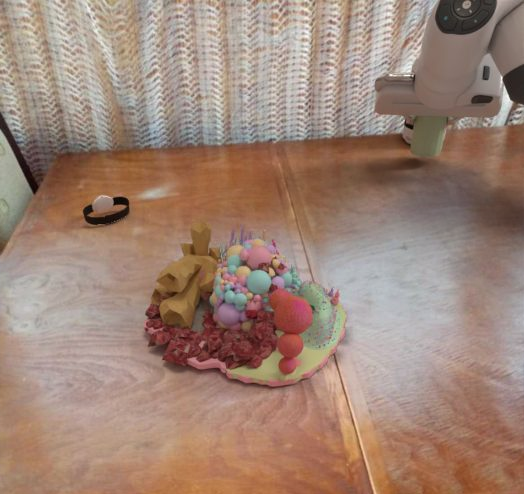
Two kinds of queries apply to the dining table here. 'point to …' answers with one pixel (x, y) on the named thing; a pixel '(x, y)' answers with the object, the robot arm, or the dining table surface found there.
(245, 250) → the pastel sphere sculpture
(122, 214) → the watch
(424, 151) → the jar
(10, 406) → the dining table surface
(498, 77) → the robot arm
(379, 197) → the dining table surface
